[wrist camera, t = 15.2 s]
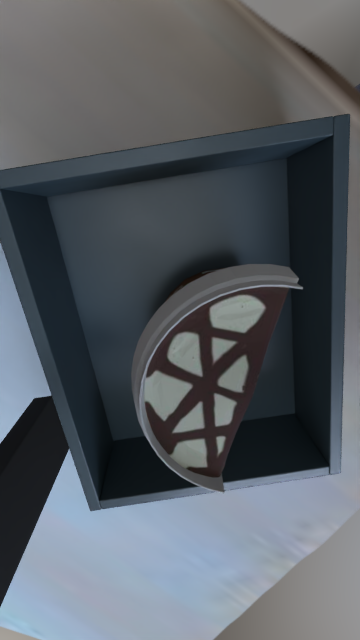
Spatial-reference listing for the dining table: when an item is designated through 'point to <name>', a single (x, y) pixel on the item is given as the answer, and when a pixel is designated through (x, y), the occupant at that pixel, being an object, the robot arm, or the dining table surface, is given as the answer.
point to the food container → (206, 364)
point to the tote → (167, 273)
